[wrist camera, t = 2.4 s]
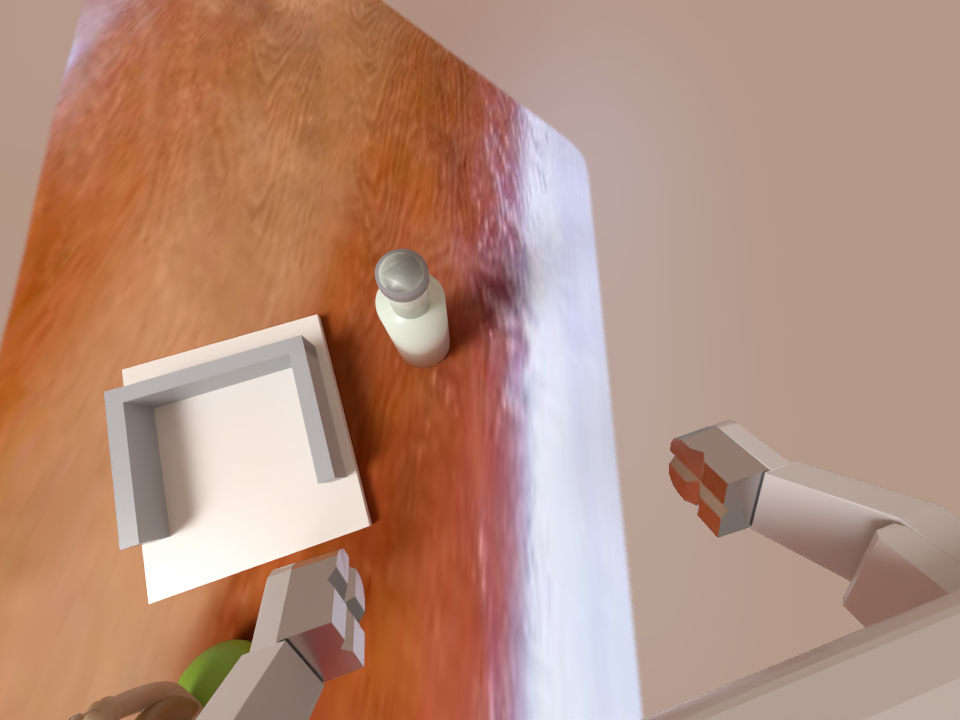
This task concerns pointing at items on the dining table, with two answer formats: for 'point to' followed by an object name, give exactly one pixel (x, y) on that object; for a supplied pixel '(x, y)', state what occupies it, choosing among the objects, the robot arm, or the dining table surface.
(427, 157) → the dining table surface
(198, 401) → the u stand
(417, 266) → the pale green bottle
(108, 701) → the snail figurine
